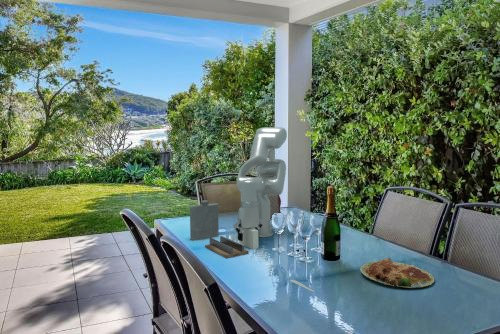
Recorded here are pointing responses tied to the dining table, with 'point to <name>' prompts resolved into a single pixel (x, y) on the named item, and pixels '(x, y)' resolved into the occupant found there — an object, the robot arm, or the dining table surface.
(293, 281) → the butter knife
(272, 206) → the handbag
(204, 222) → the hip flask
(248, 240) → the door panel
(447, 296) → the dining table surface
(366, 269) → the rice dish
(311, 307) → the dining table surface
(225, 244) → the track
